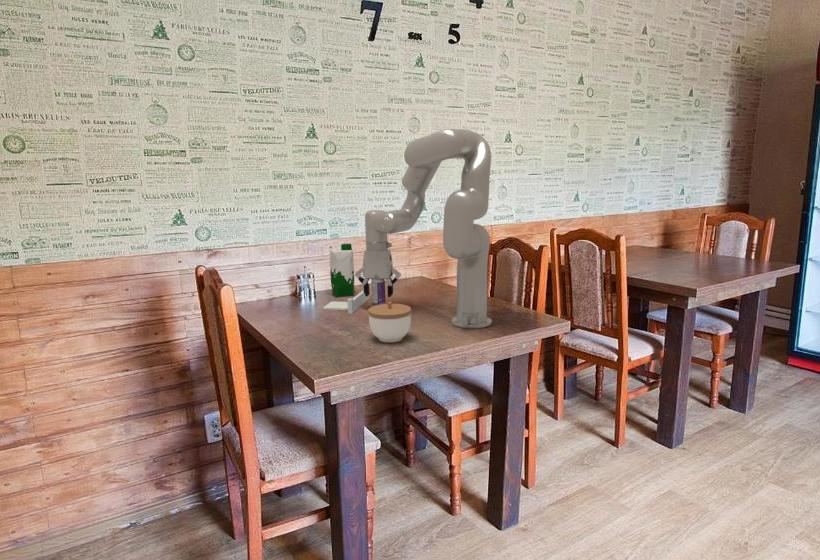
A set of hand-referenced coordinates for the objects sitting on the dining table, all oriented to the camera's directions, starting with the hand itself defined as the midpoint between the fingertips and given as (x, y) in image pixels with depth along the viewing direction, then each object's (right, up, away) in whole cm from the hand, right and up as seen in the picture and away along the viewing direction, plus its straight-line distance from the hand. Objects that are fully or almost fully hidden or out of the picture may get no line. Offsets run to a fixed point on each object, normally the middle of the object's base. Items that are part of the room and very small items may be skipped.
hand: (378, 295), depth 194 cm
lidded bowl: (+5, -12, -32) cm, 35 cm away
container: (0, -5, +1) cm, 5 cm away
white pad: (-15, -4, +6) cm, 16 cm away
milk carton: (-15, 0, +24) cm, 29 cm away
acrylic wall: (-7, -4, +7) cm, 11 cm away
